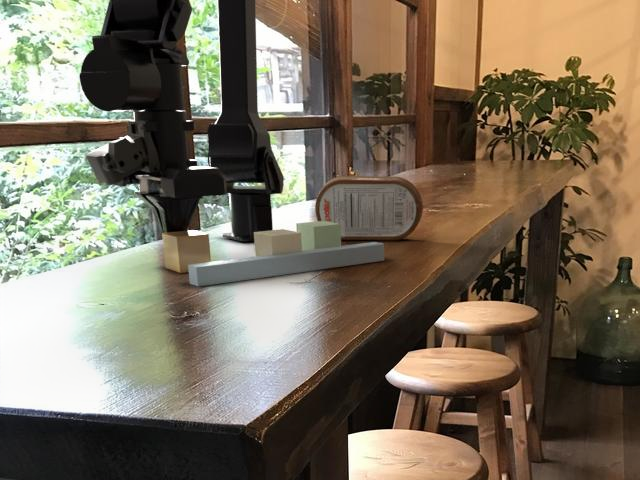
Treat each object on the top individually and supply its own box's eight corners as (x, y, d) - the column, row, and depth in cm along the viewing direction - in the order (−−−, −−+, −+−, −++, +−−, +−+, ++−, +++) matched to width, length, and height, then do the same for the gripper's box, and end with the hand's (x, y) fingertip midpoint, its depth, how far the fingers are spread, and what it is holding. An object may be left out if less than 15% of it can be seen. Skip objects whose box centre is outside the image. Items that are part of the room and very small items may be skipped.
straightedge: (189, 283, 86) (187, 264, 85) (374, 258, 100) (374, 241, 99) (198, 286, 85) (196, 267, 84) (384, 260, 98) (384, 243, 98)
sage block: (297, 256, 102) (296, 223, 100) (323, 253, 104) (322, 220, 102) (315, 260, 99) (313, 226, 97) (341, 257, 101) (340, 223, 99)
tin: (422, 238, 115) (423, 175, 111) (421, 241, 112) (422, 177, 108) (317, 237, 116) (315, 175, 113) (314, 241, 113) (312, 177, 110)
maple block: (165, 268, 95) (161, 232, 93) (196, 264, 97) (193, 230, 95) (180, 273, 92) (176, 236, 90) (211, 269, 94) (208, 233, 93)
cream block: (255, 267, 95) (253, 232, 93) (284, 263, 97) (283, 229, 95) (273, 272, 92) (271, 235, 90) (302, 268, 94) (301, 232, 93)
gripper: (60, 110, 92) (80, 250, 99) (121, 112, 79) (140, 274, 86) (152, 110, 98) (165, 242, 105) (223, 111, 85) (234, 263, 92)
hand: (174, 254), depth 97 cm, fingers closed
